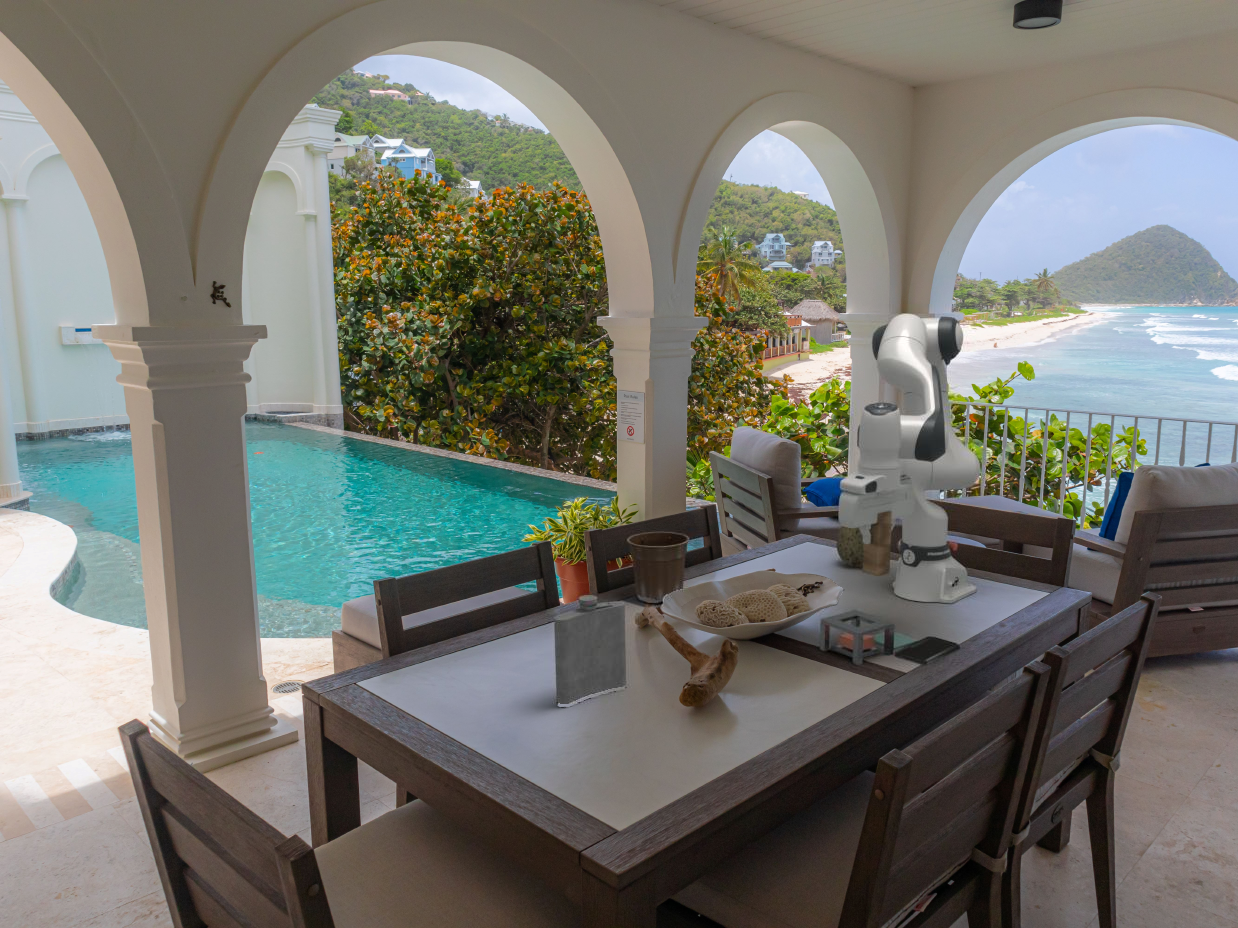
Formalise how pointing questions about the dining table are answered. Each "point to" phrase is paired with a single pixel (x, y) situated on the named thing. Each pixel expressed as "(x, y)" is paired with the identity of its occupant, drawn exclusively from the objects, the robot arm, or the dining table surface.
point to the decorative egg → (850, 546)
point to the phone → (927, 650)
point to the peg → (878, 547)
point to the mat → (895, 640)
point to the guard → (857, 633)
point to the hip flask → (590, 649)
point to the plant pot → (658, 562)
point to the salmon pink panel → (847, 641)
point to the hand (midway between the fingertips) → (876, 541)
